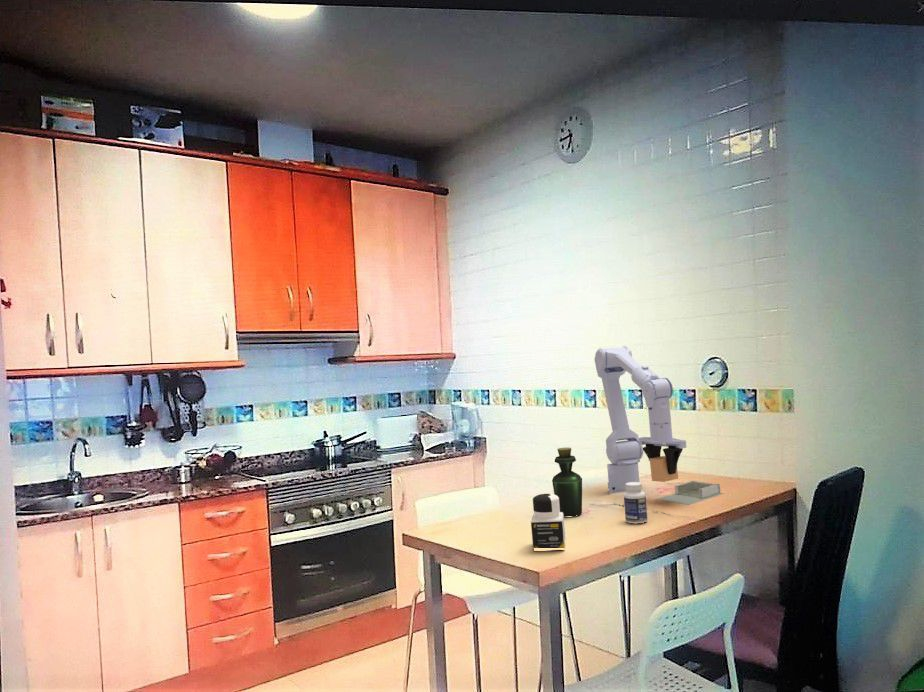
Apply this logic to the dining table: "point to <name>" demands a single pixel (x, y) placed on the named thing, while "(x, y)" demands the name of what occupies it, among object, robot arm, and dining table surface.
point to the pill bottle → (635, 503)
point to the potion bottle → (567, 484)
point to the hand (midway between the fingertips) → (664, 472)
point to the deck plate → (684, 499)
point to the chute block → (661, 470)
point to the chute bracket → (697, 489)
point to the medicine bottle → (547, 522)
